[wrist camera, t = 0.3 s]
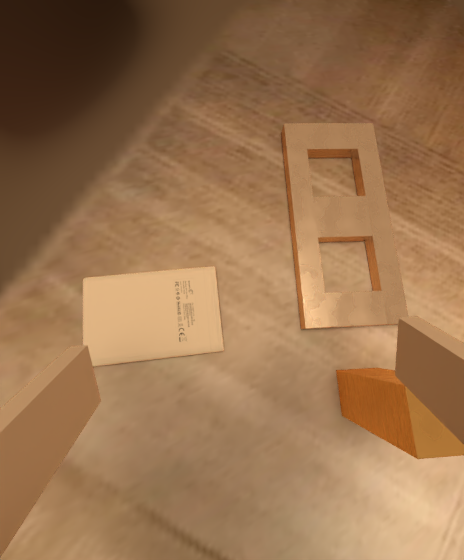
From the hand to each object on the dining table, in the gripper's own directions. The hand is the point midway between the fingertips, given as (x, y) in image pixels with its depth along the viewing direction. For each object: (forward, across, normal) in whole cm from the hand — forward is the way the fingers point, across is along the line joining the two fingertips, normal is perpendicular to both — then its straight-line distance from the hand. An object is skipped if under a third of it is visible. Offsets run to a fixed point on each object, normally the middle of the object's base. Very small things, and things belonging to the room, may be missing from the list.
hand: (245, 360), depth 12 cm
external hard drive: (+15, +8, +3) cm, 18 cm away
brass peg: (+12, -11, +11) cm, 20 cm away
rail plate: (+20, -11, -4) cm, 23 cm away
